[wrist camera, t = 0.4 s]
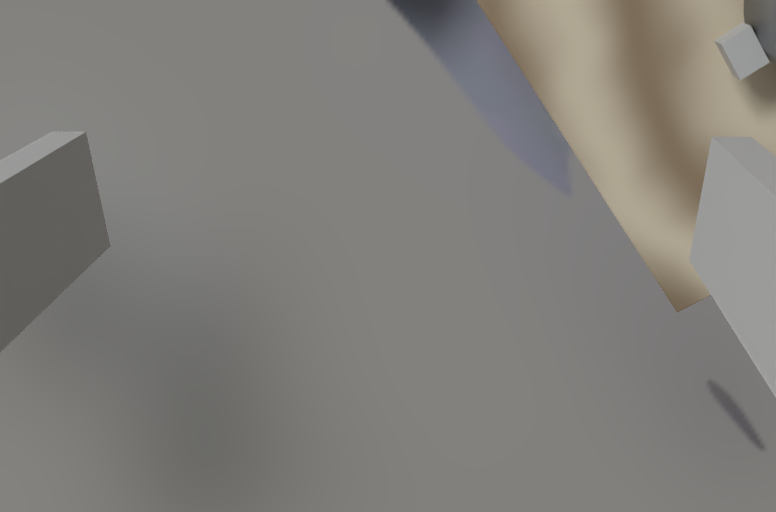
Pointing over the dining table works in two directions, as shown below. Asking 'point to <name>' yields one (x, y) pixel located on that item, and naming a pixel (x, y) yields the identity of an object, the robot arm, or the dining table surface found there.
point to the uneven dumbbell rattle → (751, 39)
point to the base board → (642, 107)
